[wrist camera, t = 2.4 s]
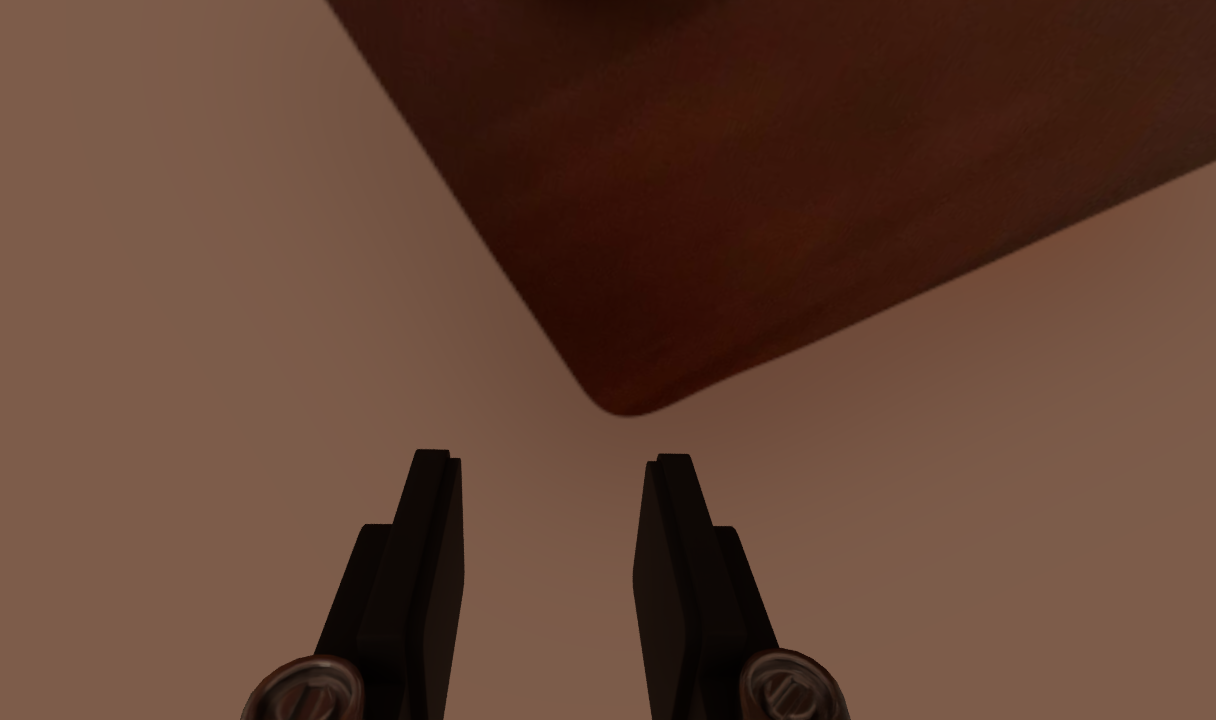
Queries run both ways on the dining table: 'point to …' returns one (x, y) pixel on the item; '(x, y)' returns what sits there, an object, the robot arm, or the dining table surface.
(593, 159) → the dining table surface
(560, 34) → the dining table surface
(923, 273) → the dining table surface
